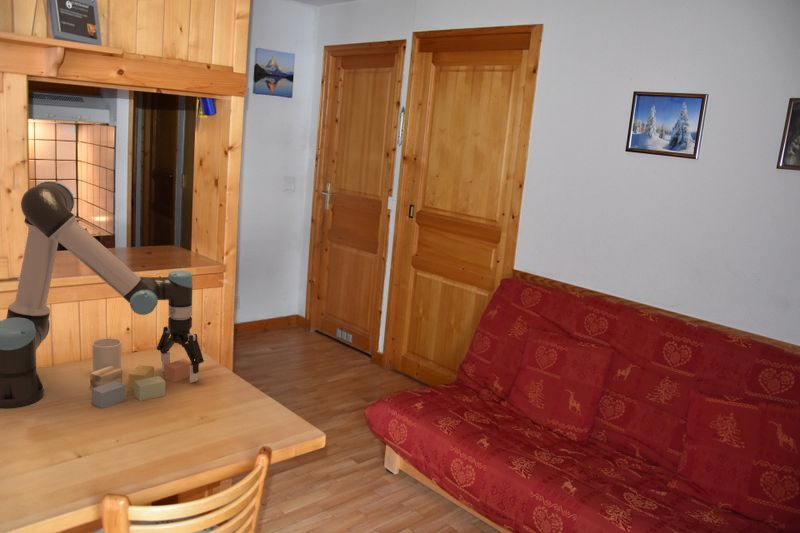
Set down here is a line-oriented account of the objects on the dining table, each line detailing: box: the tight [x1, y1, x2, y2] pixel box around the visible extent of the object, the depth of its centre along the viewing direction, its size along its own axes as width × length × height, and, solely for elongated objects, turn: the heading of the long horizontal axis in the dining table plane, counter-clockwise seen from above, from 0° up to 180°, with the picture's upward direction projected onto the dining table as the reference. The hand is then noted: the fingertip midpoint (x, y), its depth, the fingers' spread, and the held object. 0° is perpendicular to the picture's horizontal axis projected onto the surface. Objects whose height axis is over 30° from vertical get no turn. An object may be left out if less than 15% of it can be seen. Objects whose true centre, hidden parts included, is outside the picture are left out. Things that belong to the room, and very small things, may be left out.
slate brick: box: [91, 381, 126, 409], centre depth 200 cm, size 5×8×5 cm, turn 148°
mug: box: [91, 337, 123, 372], centre depth 221 cm, size 12×9×11 cm
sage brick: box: [133, 375, 166, 402], centre depth 207 cm, size 5×8×5 cm, turn 132°
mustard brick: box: [128, 364, 155, 390], centre depth 215 cm, size 5×8×5 cm, turn 179°
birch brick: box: [89, 366, 123, 389], centre depth 211 cm, size 5×8×5 cm, turn 155°
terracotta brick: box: [164, 358, 192, 383], centre depth 223 cm, size 5×8×5 cm, turn 151°
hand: (179, 376), depth 223 cm, fingers open, 13 cm apart
